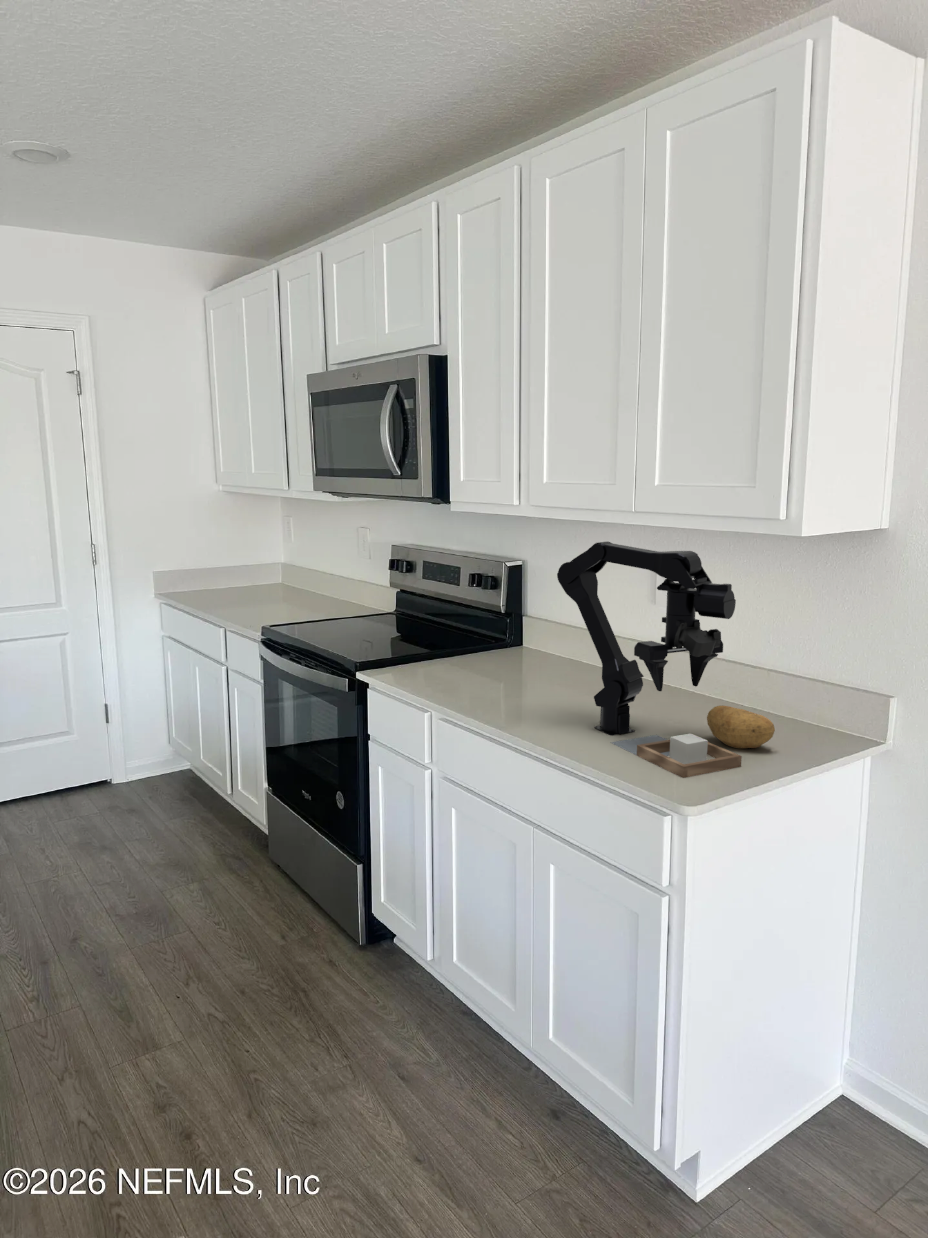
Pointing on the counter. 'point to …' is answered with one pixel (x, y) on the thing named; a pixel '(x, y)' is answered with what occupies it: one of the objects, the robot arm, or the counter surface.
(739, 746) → the potato
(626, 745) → the mat
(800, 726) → the counter surface
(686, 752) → the white cube
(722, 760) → the bin
